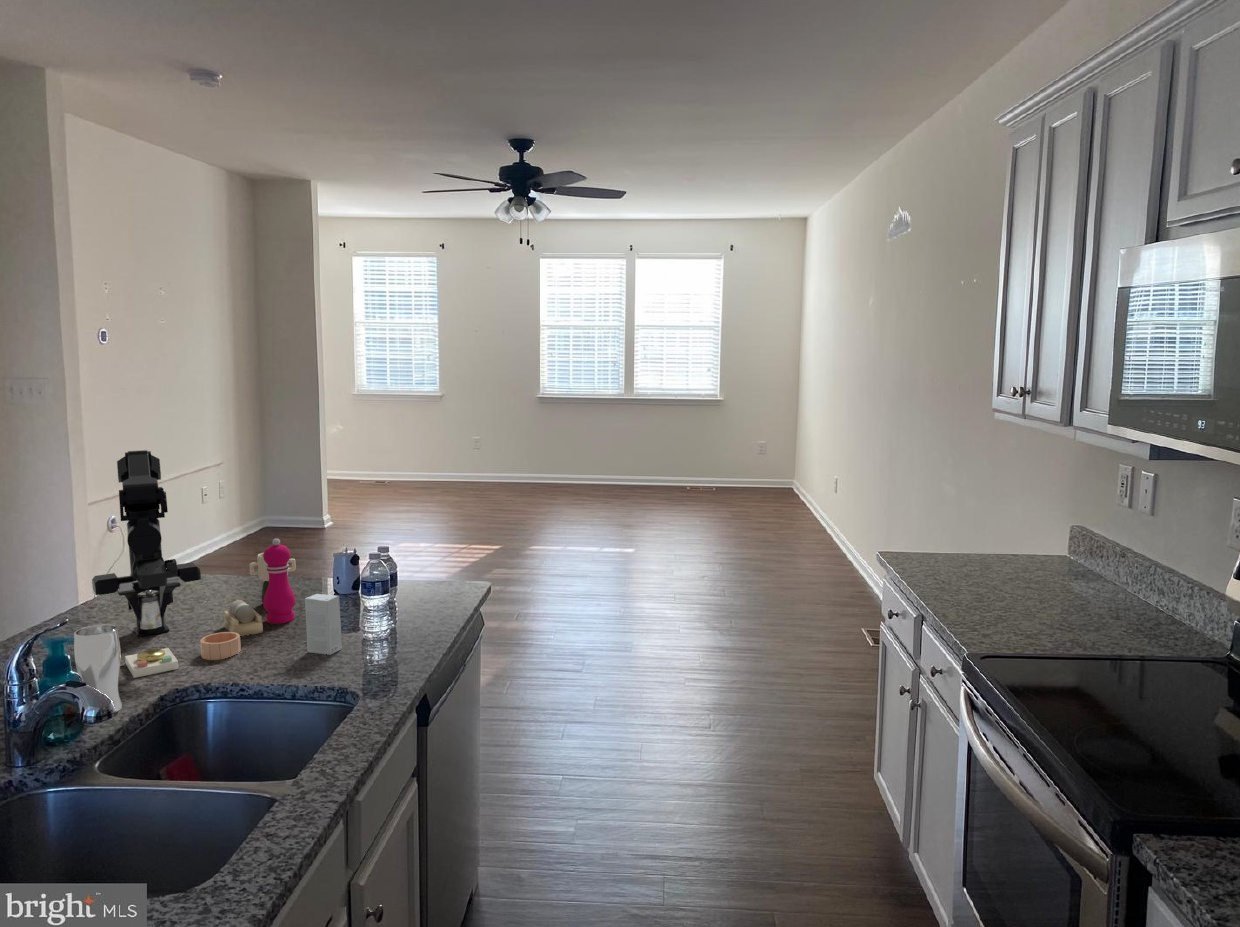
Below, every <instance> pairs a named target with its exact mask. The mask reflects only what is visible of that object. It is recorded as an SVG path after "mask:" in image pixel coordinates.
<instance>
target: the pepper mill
mask: <svg viewBox="0 0 1240 927" xmlns="http://www.w3.org/2000/svg"><path fill="white" fill-rule="evenodd" d="M271 542H272V543H271V544H272V545H270V546H268V547H266V549H265V550H264V551H263V553H264V555H263V558H264V561H265V562H266V563H267V564H268V565H267V566H266V568H267V570H266V571H267V572H268V573H269V584H268V588H267V591H266V593H265V596H264V601H263V602H262V603H263V608H264V609H265V610H266V611H267V613H266V615H265V617H266V623H268V624H273V625H274V624H275V625H276V624H277V625H278V624H280V625H281V624H285V623H289V622H292V621H294V619H295V611H294V610H293V608H294V607H295V606H296V596H295V593H294V591H293V588H292V586H291V585H290V582H289V578H288V575H287V571H288V570H289V568H290V567H289V566H290V563H288V564H287V562H288V561H289V559H291V551H290V548H288V547H287V545H284V544H281V540H280V539H279V538H274V539H272V541H271Z"/></svg>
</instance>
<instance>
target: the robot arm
mask: <svg viewBox="0 0 1240 927" xmlns="http://www.w3.org/2000/svg"><path fill="white" fill-rule="evenodd" d="M116 466H117V478H118V483H122V484H121V486H122V489H119V490H118V496H119V497H118V500H119V514H120V517H119V518H120V522H126V521H127V522H126V529H127V540H126V541H127V545H128V554H129V555H128V556H129V565H130V569H129V570H130V574H129V575H125V576H120V577H119V576H117V574H116V573H114V572H113V573H107V574H105V573H104V574H98V575H94V576H93V577H92V579H91V585H92V590H93V592H94V594H95V596H96V595H97V596H102V595H103V596H104V595H109V594H115V593H116V594H117V595H118V596H119V597H121V596H124V597H125V598H126V599H127V605H128V611H131V610H132V612H133V614H134V616H135V619H136V626H135V627H133V628H132V629H133V631H134V633H135V634H136V636H137V637H144V636H151V635H155V634H159V633H160V634H161V633H166V632H169V631H170V628H169V626H168V625H167V624H166V620H165V619H166V618H165V614H166V611H167V607H168V606H169V605H171V604H172V603H174V595H173V594H174V593H173V592H174V590H175V589H176V588H180V587H181V583H180V582H179V581H180V580H181V581H182V582H184V583H187V582H196V581H200V580H201V579H202V576H201V575H202V574H201V573H202V572H201V568H200V567H199V566H198V565H196V564H195V563H194V562H185V563H179V564H178V563H177V560H176V558H171V559H165V560H164V558H163V553H162V533H161V528H160V527H161V525H160V519H161V518H166V515H165V513H168V511H169V510H168V501H167V500H168V499H167V492H166V491H165V490H164V488H163V487H162V486H159V483H158V482H159V481H161V480H162V472H161V461H160V458H158V457H156V456H155V455H153V454H152V451H151V450H150V451H149V450H147V449H144V450H128V451H127V452H124V456H123V457H121V458H120V459H118V460H117V461H116ZM124 513H125V514H124ZM146 590H152V591H159V592H160V608H161V621H162V626H160V627H158V628H154V629H141V627H140V621H141V618H140V611H139V602H138V594H139V593H141V592H145V591H146Z"/></svg>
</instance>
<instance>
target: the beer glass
mask: <svg viewBox="0 0 1240 927" xmlns="http://www.w3.org/2000/svg"><path fill="white" fill-rule="evenodd" d="M73 635H74V636H73V638H74V639H73V640H74V641H73V642H74V643H73V651H74V653H73V654H74V662H75V663H74V664H75V668H76V672H77V674H78V677H79V676H80V677H81V678H82V680H84V681H85V682H86V683H87V685H89V686H91V687H94V688H95V689H97V690H99V691H100V692H101V693H103V694H106V695H107V696H108V697H109V698H110V699H111V700H112V701H113V703H114V707H115V709H116V712H115V713H117V712H118V711H120V710H121V709H122V708H123V703H122V700H121V697H120V693H119V679H120V678H119V677H120V670H121V669H120V668H121V656H122V654H121V645H120V644H121V642H120V636H119V631H118V626H117V625H115V624H111V623H109V624H108V623H107V624H102V623H101V624H93V625H89V626H85V627H82V628H79V629H77V630H76V631H74V632H73Z"/></svg>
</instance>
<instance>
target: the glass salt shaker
mask: <svg viewBox="0 0 1240 927" xmlns="http://www.w3.org/2000/svg"><path fill="white" fill-rule="evenodd" d="M138 602H139V611H140V618H141V621H140V627H141V629H154V628H158V627H160V626H162V621H161V608H160V592H159V591H152V590H146V591H145V592H141V593H139V594H138Z"/></svg>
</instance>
